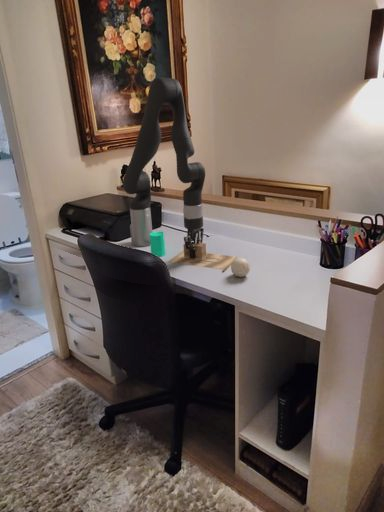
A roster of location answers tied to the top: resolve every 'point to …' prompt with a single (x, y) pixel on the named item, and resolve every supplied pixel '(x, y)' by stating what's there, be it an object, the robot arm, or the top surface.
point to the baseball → (240, 267)
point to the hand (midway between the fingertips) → (195, 256)
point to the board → (207, 261)
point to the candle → (157, 243)
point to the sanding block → (196, 252)
